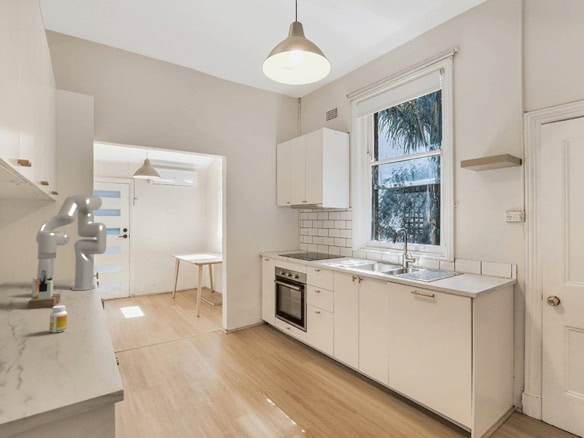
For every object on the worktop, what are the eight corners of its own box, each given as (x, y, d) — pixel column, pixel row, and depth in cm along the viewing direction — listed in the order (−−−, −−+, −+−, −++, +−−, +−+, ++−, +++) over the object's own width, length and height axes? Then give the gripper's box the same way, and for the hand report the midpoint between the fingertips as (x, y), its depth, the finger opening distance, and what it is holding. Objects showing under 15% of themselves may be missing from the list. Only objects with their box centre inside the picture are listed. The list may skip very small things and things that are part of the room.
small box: (34, 297, 176) (35, 278, 176) (31, 296, 180) (32, 277, 180) (52, 295, 183) (52, 277, 183) (48, 294, 186) (49, 276, 186)
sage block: (40, 296, 163) (41, 280, 163) (52, 295, 165) (53, 280, 165) (38, 298, 158) (38, 282, 159) (50, 297, 161) (50, 281, 161)
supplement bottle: (69, 328, 127) (70, 304, 127) (62, 333, 122) (63, 308, 122) (53, 329, 126) (54, 304, 126) (46, 334, 121) (47, 308, 121)
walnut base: (36, 302, 166) (37, 295, 166) (60, 301, 170) (60, 293, 170) (28, 309, 153) (28, 301, 153) (53, 307, 157) (53, 299, 157)
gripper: (42, 254, 168) (41, 287, 168) (32, 258, 153) (31, 293, 152) (59, 254, 171) (58, 286, 171) (51, 257, 156) (50, 292, 155)
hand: (45, 289), depth 162 cm, fingers open, 9 cm apart
